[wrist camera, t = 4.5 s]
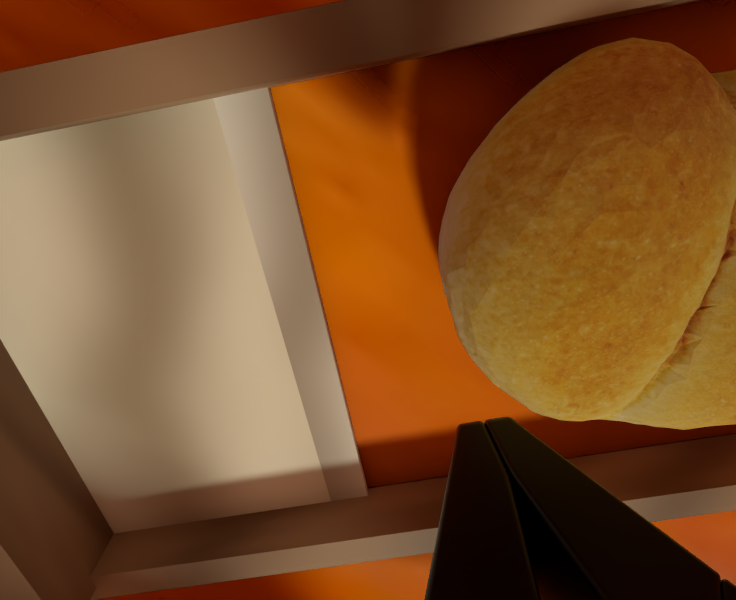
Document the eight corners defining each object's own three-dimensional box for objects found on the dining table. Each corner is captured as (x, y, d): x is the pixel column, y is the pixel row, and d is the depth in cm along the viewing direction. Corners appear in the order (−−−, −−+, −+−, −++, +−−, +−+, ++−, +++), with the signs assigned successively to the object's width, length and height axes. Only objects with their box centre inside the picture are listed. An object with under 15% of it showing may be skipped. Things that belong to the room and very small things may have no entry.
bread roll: (476, 18, 9) (572, -40, 5) (858, 101, 10) (1153, 99, 6) (397, 371, 12) (423, 486, 9) (695, 404, 13) (832, 519, 10)
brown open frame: (1045, -128, 9) (1396, -245, 6) (857, 439, 14) (985, 527, 11) (-168, 124, 10) (-383, 135, 7) (96, 550, 16) (36, 654, 13)
